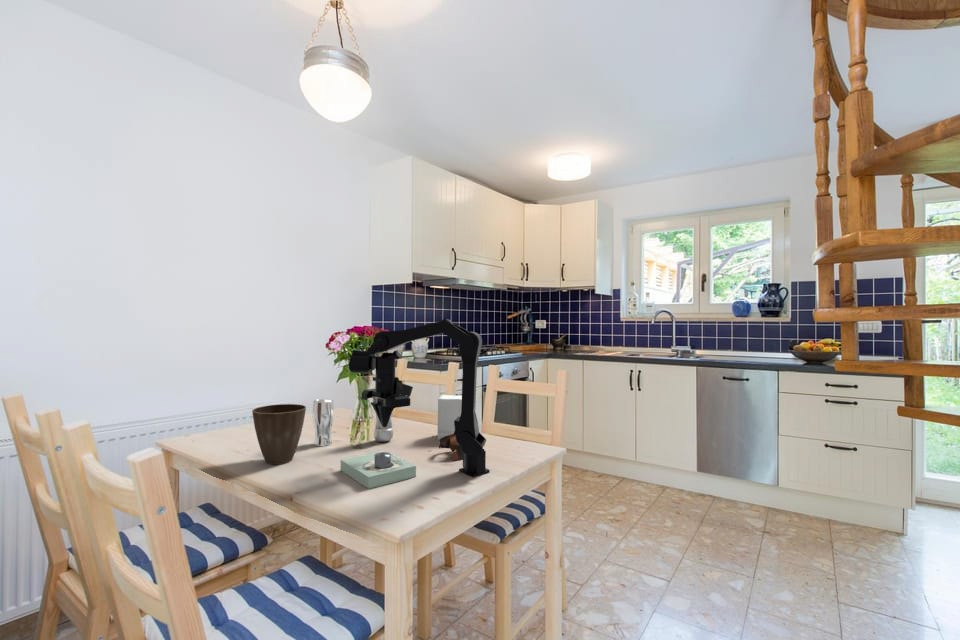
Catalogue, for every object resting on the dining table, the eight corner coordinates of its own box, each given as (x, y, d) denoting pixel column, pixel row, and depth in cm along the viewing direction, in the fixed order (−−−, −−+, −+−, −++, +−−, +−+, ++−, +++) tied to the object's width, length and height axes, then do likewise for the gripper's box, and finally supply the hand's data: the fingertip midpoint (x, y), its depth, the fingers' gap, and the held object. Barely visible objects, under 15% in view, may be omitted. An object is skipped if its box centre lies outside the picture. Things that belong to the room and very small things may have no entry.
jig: (415, 476, 121) (416, 465, 121) (368, 488, 112) (368, 477, 112) (384, 460, 135) (384, 450, 135) (340, 470, 126) (340, 459, 126)
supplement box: (461, 441, 157) (461, 399, 157) (437, 440, 158) (437, 398, 158) (465, 434, 166) (465, 395, 166) (441, 433, 167) (442, 394, 167)
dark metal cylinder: (393, 476, 121) (393, 455, 121) (379, 480, 118) (379, 458, 118) (386, 472, 124) (386, 451, 124) (371, 476, 121) (371, 454, 121)
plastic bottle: (372, 439, 158) (373, 384, 158) (391, 438, 161) (392, 383, 161) (375, 444, 152) (375, 386, 152) (394, 442, 155) (395, 385, 155)
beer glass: (312, 442, 155) (313, 399, 155) (333, 440, 157) (333, 398, 157) (311, 447, 148) (311, 402, 148) (333, 445, 150) (333, 401, 150)
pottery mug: (443, 463, 134) (436, 437, 137) (443, 468, 142) (436, 443, 145) (481, 451, 136) (472, 426, 140) (478, 456, 145) (471, 432, 148)
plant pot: (258, 455, 139) (258, 404, 139) (308, 451, 143) (308, 402, 143) (246, 470, 125) (246, 414, 125) (302, 466, 129) (302, 411, 129)
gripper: (426, 375, 127) (425, 428, 127) (392, 369, 141) (392, 417, 141) (392, 377, 120) (391, 435, 120) (360, 371, 134) (360, 422, 134)
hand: (384, 427), depth 129 cm, fingers closed
